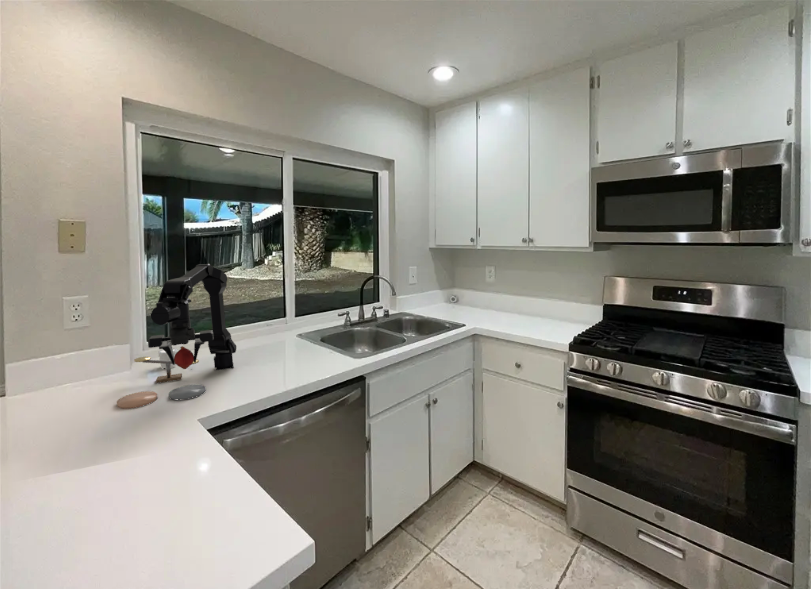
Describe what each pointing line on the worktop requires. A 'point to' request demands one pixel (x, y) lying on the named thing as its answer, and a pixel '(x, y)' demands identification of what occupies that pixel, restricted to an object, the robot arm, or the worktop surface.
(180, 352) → the onion
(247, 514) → the worktop surface
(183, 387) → the slate dish
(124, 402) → the terracotta dish
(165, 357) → the white cylinder
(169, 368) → the balance
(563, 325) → the worktop surface
